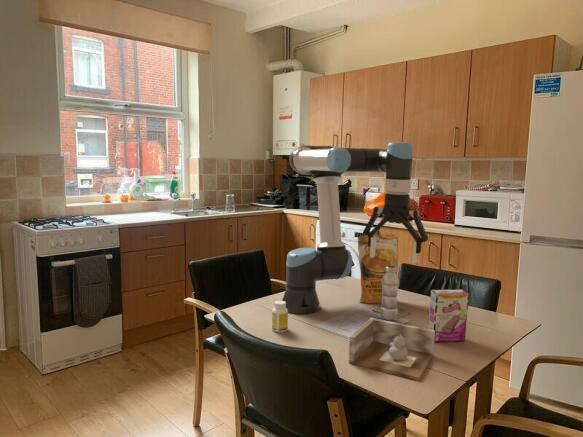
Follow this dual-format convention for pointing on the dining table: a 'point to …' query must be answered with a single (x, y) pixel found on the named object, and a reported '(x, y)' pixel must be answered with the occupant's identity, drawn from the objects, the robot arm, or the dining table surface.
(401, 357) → the white lumpy figure
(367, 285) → the pancake mix bag
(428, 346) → the arena
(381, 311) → the plastic bottle
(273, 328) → the supplement bottle
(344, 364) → the dining table surface
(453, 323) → the candy bar box
